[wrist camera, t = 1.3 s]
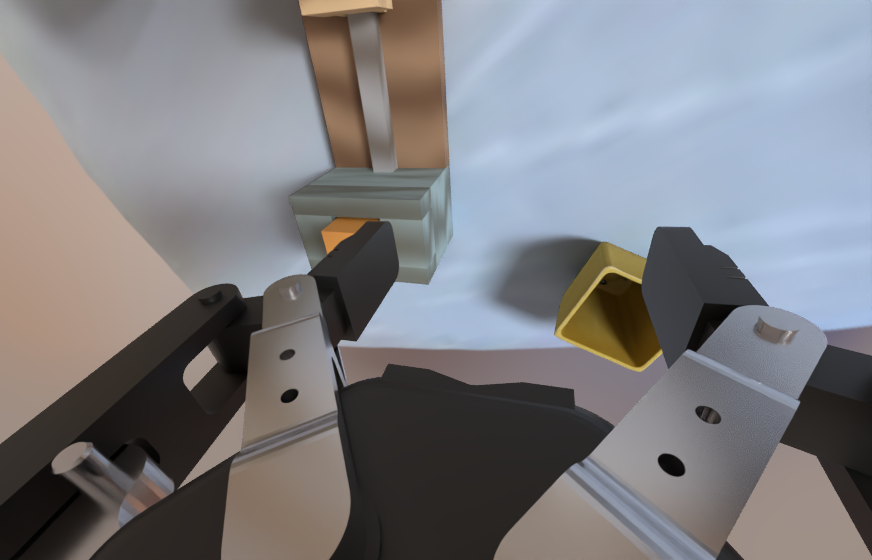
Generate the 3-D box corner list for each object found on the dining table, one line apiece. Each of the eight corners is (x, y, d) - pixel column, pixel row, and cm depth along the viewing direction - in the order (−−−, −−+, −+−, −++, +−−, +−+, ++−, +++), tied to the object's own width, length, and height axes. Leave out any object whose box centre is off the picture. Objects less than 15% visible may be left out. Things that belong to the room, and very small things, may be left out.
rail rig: (279, -135, 26) (161, -210, 18) (432, -173, 23) (371, -284, 15) (356, 229, 43) (312, 273, 35) (452, 235, 40) (428, 284, 32)
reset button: (338, 216, 31) (321, 231, 29) (380, 218, 30) (365, 233, 28) (348, 255, 33) (332, 272, 31) (387, 258, 32) (374, 276, 30)
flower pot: (551, 283, 40) (551, 336, 33) (595, 218, 35) (606, 265, 27) (623, 313, 40) (640, 374, 32) (678, 253, 34) (712, 309, 27)
